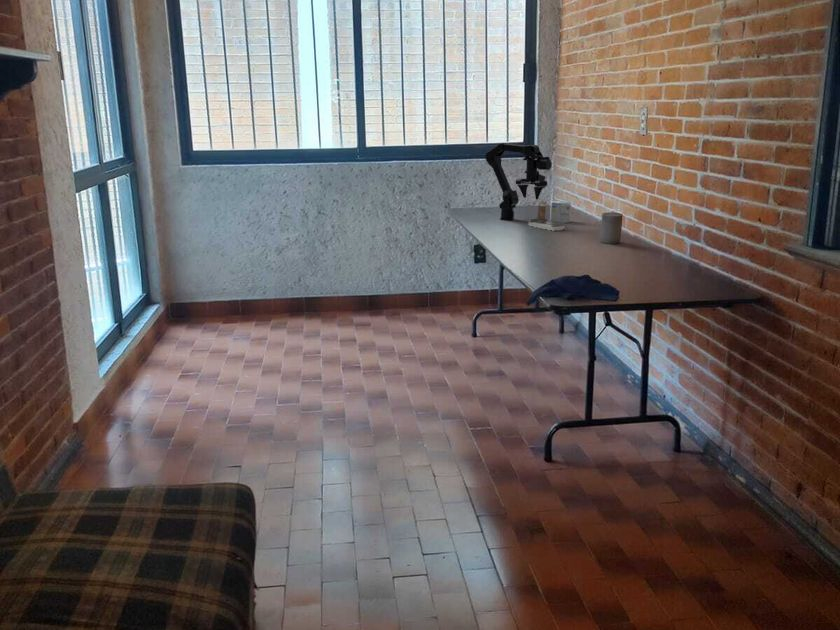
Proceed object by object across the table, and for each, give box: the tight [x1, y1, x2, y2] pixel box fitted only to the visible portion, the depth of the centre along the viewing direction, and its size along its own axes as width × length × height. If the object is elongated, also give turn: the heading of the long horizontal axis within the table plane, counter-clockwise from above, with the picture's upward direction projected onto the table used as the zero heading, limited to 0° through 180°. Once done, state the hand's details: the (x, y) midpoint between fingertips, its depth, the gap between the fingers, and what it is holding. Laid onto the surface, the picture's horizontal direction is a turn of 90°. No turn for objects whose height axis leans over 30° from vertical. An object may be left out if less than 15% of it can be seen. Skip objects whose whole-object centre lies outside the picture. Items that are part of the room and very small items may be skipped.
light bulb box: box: [549, 200, 572, 223], centre depth 416 cm, size 11×7×11 cm, turn 84°
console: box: [528, 217, 566, 232], centre depth 396 cm, size 17×9×4 cm, turn 39°
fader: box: [535, 200, 548, 223], centre depth 398 cm, size 4×5×11 cm
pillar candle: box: [599, 211, 623, 245], centre depth 362 cm, size 10×10×15 cm
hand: (530, 198), depth 406 cm, fingers open, 9 cm apart
